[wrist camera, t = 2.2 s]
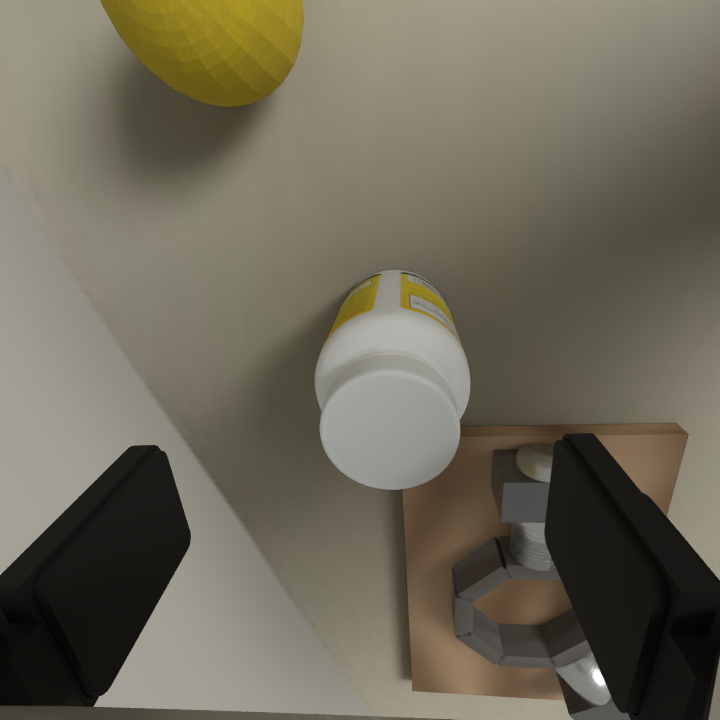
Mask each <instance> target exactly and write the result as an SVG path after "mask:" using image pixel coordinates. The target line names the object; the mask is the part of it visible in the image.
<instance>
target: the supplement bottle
mask: <svg viewBox="0 0 720 720" xmlns="http://www.w3.org/2000/svg"><path fill="white" fill-rule="evenodd" d="M470 385H471V384H470V372H469V367H468V362H467V359H466V355H465V352H464V350H463V347H462V344H461V342H460V339H459V336H458V333H457V330H456V327H455V324H454V322H453V319H452V316H451V313H450V310H449V308H448V305H447V303H446V301H445V299H444V297H443V296H442V294H441V293H440V292H439V290H438V289H437V288H436V287H435V286H434V285H433V284H432V283H431V282H429V281H428V280H427V279H425V278H423V277H422V276H420V275H418V274H415V273H412V272H408V271H403V270H387V271H381V272H378V273H375V274H372V275H370V276H368V277H367V278H365V279H363V280H362V281H360V282H359V283H358V284H357V285H356V286H355V287H354V288H353V289H352V290H351V291H350V293H349V294H348V295H347V297H346V299H345V300H344V302H343V304H342V306H341V308H340V310H339V313H338V316H337V318H336V320H335V322H334V324H333V326H332V329H331V331H330V333H329V335H328V337H327V339H326V342H325V344H324V346H323V348H322V350H321V353H320V356H319V359H318V362H317V366H316V371H315V391H316V396H317V400H318V403H319V406H320V409H321V411H322V413H321V418H320V428H319V429H320V437H321V441H322V445H323V448H324V450H325V452H326V454H327V456H328V457H329V459H330V460H331V462H332V463H333V464H334V465H335V466H336V467H337V468H338V469H339V470H340V471H341V472H342V473H344V474H345V475H346V476H348V477H349V478H351V479H352V480H354V481H356V482H358V483H360V484H363V485H366V486H369V487H373V488H378V489H386V490H399V489H407V488H411V487H415V486H418V485H420V484H423V483H426V482H428V481H429V480H431V479H433V478H434V477H436V476H437V475H439V474H440V473H441V472H442V471H443V470H444V469H445V468H446V467H447V466H448V465H449V463H450V462H451V460H452V459H453V457H454V455H455V453H456V450H457V448H458V445H459V440H460V419H461V417H462V416H463V414H464V412H465V409H466V407H467V404H468V400H469V395H470Z"/></svg>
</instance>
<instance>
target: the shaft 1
mask: <svg viewBox="0 0 720 720" xmlns="http://www.w3.org/2000/svg"><path fill="white" fill-rule="evenodd" d="M553 450H554V445H552V444H547V443H530V444H526V445H524V446H522V447H521V448H519V449H499V450H493V457H492V476H491V488H492V492H493V495H494V499H495V503H496V506H497V510H498V513H499V517H500V520H501V522H509V523H511V532H510V544H509V546H510V551H511V553H512V555H513V556H514V558H515V559H516V560H517V561H518V562H519V563H521V564H522V565H524V566H526V567H528V568H530V569H533V570H538V571H548V570H552V569H554V568H556V567H555V565H554V563H553V560H552V558H551V556H550V553H549V551H548V549H547V546H546V542H545V536H544V528H545V520H546V511H547V502H548V494H549V485H550V476H551V468H552V459H553Z"/></svg>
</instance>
